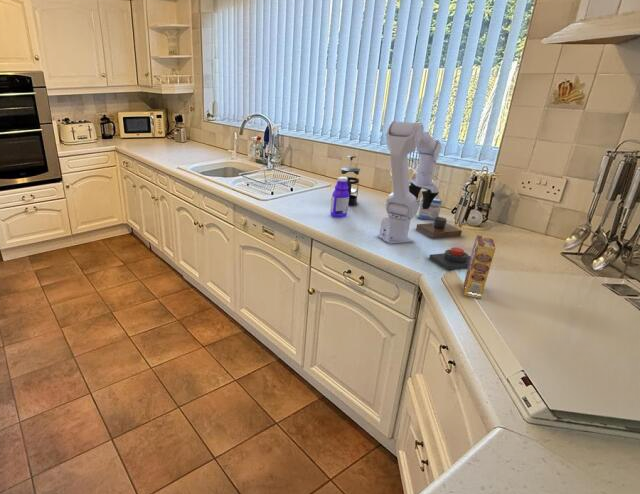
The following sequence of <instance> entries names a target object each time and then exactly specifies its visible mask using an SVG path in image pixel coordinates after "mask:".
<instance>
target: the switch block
mask: <svg viewBox="0 0 640 494" xmlns="http://www.w3.org/2000/svg"><path fill="white" fill-rule="evenodd" d="M450 252H451V249H446V250H444V252H443V253H433V254H429V257H428V260H430V261H431V262H433V263H434V264H436V265H438V266H439V267H441V268H443V269H444V270H446V271H448V272H449V271H450V272H451V271H457V270H465V269H466V270H467V269H468V265H469V261H470V258H471V255H469V254H468V253H467V252H465V251H464V253H463V256H455V255H452V254H450Z"/></svg>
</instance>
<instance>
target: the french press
mask: <svg viewBox="0 0 640 494" xmlns="http://www.w3.org/2000/svg"><path fill="white" fill-rule="evenodd" d="M346 158H349V159H350V166H346V167H345V166H344V167H340V173H341V175H346V174H347V173H349V176H346V177H347V178H348V180H347V185H348V187H349V189H348V192H349V202H348V207H354V206H356V205H358V202H357V201H358V193H359V185H360V178H358V177H352V176H351V173H354V174H355V175H356V176H358V175H359V174H360V171H361V168H358V167H355V166H354V167H353V166H352V162H353V159H357V156H355V155H347V156H346ZM356 184H357V188H356V189H354V188H352V185H356ZM354 194H356V195H354Z"/></svg>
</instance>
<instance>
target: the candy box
mask: <svg viewBox="0 0 640 494" xmlns="http://www.w3.org/2000/svg"><path fill="white" fill-rule="evenodd" d="M495 253H496V245H495V240H494V238H493V237H492V236H486V235H476V236H475V240H474V243H473V246H472V251H471V254H470V256H471V258H470V261H469V265H468V269H466V273H465V278H464V281H463V291H464V292H463V293H464V296H466V297H470V298H473V299H474V298H475V299H479V300H481V299H482V296H477V295H472V294H468V293H467V292H472V293H477V294H482V295H483V293H484V289H485V286H486V282H487V279H488V275H489V274H490V273H489V272H490V270H491V266H492V263H493V259H494V256H495ZM465 287H466V288H465ZM465 292H466V293H465Z"/></svg>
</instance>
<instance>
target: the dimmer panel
mask: <svg viewBox="0 0 640 494" xmlns="http://www.w3.org/2000/svg"><path fill="white" fill-rule="evenodd" d="M433 225H434V222H430V223H417V224H416V227H415V231H417V232H418V233H420V234H422V235H423V236H426V237H428V238H430V239H432V240H437V239H448V238H459V237H461V236H462V232H463V230H462V229H460V228H457V227H456V226H453V225H451V224H449V223H447V222H446V225H445V228H444V229H437V228H434V227H433Z"/></svg>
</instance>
